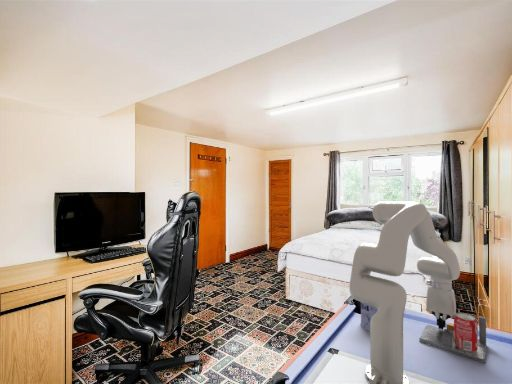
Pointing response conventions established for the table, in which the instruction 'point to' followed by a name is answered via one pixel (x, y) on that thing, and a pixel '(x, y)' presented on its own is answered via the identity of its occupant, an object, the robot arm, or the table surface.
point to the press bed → (434, 338)
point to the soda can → (465, 332)
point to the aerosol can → (367, 315)
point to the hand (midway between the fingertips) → (441, 327)
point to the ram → (448, 335)
